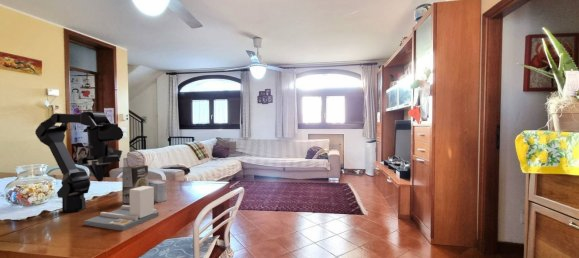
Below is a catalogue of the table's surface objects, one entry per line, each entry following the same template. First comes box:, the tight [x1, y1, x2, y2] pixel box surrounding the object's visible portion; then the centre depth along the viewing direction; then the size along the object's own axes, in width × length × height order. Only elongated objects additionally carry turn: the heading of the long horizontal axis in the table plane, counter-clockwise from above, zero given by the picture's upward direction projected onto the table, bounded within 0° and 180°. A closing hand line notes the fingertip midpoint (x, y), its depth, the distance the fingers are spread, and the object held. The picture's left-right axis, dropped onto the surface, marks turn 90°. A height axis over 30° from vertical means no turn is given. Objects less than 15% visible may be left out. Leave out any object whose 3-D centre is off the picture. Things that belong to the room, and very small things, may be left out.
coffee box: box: [121, 164, 149, 204], centre depth 120 cm, size 9×6×16 cm
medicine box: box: [148, 180, 167, 203], centre depth 120 cm, size 8×4×9 cm, turn 58°
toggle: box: [129, 185, 155, 218], centre depth 95 cm, size 6×6×10 cm
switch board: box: [84, 204, 160, 232], centre depth 95 cm, size 18×15×3 cm
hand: (100, 181), depth 102 cm, fingers closed
